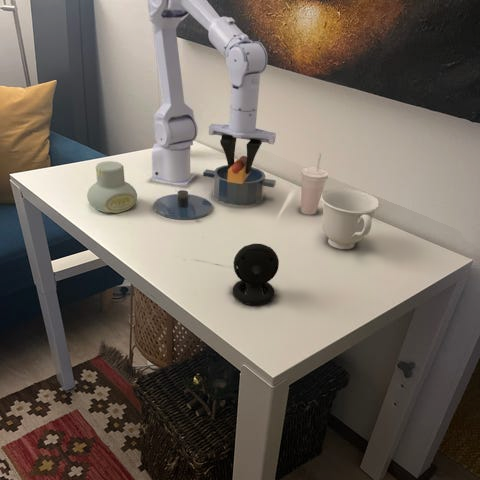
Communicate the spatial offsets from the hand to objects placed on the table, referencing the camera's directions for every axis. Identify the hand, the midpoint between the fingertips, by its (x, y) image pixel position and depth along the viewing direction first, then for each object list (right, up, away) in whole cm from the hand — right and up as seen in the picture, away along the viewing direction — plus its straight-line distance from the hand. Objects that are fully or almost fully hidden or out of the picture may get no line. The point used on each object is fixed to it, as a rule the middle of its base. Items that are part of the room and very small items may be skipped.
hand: (239, 171), depth 113 cm
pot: (0, -3, +12) cm, 12 cm away
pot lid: (-13, -7, +3) cm, 15 cm away
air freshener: (-29, -8, +2) cm, 30 cm away
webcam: (+3, -29, -23) cm, 37 cm away
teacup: (+22, -18, -6) cm, 29 cm away
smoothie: (+17, -8, +8) cm, 20 cm away
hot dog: (0, -1, +1) cm, 1 cm away
